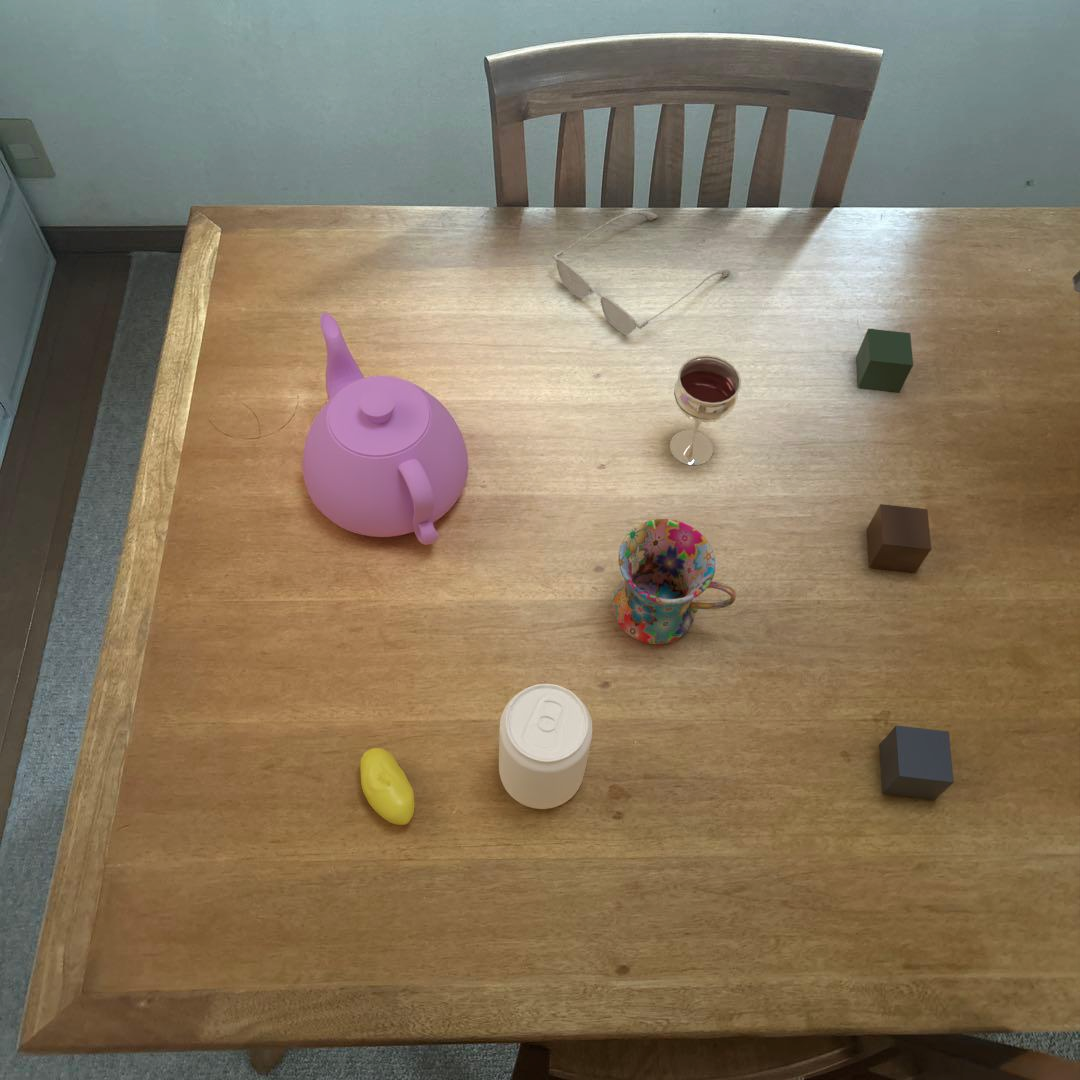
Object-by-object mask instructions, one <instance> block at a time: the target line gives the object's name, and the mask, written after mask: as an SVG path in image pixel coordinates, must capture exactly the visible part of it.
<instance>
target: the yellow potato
mask: <svg viewBox="0 0 1080 1080" xmlns="http://www.w3.org/2000/svg"><path fill="white" fill-rule="evenodd" d="M359 763H360V764H359V769H360V770H359V771H360V785H361V789H362V792H363V795H364V797H365V798H366V799H365V800H367V802H368V804H369V805H370V807H372V809H373V810H374V811H375V813H377V814H378V815H379V816H380V817H381V818H383V819H384V820H385V821H387V822H388V823H390V824H393V825H396V826H397V825H398V826H405V825H407V824H409V823H410V821H411V820H412V818H413V816H414V812H415V792H414V789H413V787H412V785H411V784H410V782H409V780H408V778H407V774H406V773H405V772H404V770H403V769H402V768H401V767H400V765H399V764H398V762H397V760H396V759H395V757H394V755H393V754H391V753H390V751H388V750H387V749H385V748H381V747H374V748H370V749H368V750H366V751H365V752H364V753H363V754H362V757H361V758H360V762H359Z"/></svg>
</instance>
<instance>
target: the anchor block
mask: <svg viewBox="0 0 1080 1080" xmlns="http://www.w3.org/2000/svg"><path fill="white" fill-rule="evenodd" d="M951 750H952V749H951V740H950V731H948V730H947V731H946V730H940V729H939V730H938V729H932V728H931V729H930V728H929V729H928V728H922V727H913V726H912V727H911V726H903V725H895V726H894V727H893V728H892V729H891V730H890V731H889V733H888V734H887V735H886V736H885V737H884V739H883V740H882V741H881V742H880V743H879V758H880V775H881V777H880V778H881V789H882V790H881V792H882V795H890V796H899V797H908V798H914V799H915V798H916V799H924V800H925V799H926V800H933V801H935V800H937V798H938V797H940V796H941V795H942V794H943V793H944V792H945V791H946V790H948V788H949V787H951V786H952V785H953V784H954V772H953V771H954V769H953V761H952V751H951Z"/></svg>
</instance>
